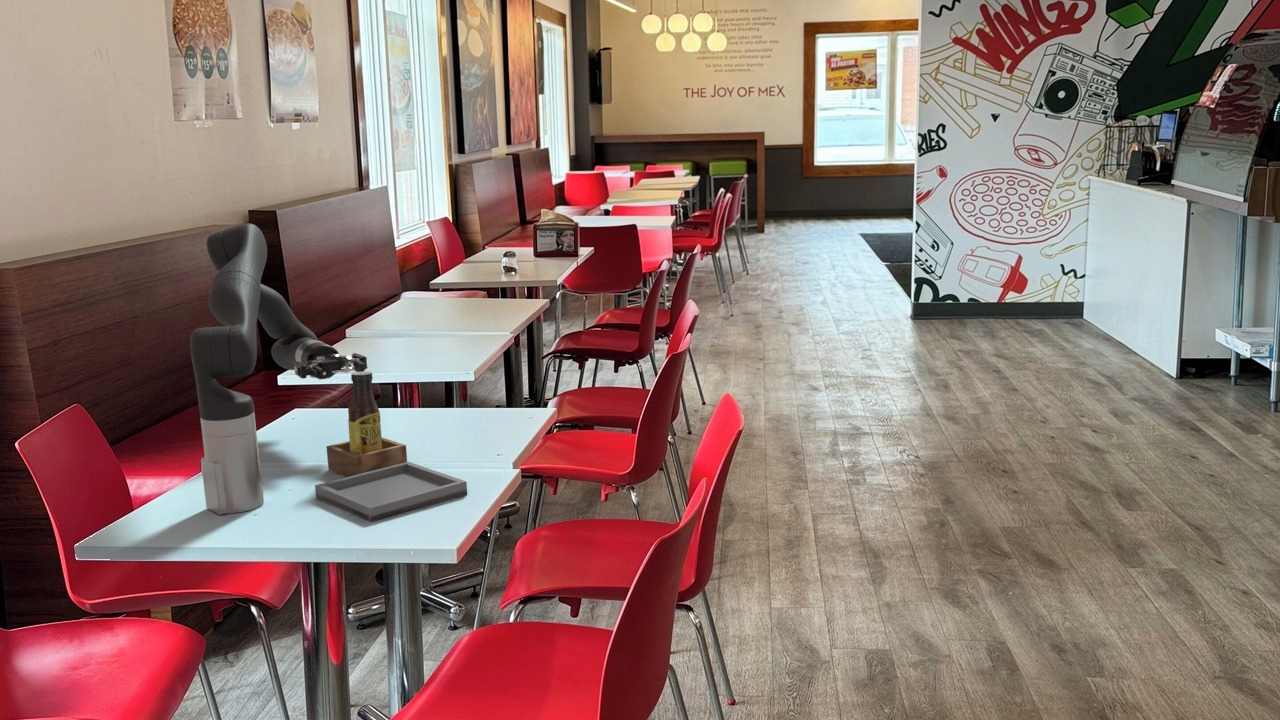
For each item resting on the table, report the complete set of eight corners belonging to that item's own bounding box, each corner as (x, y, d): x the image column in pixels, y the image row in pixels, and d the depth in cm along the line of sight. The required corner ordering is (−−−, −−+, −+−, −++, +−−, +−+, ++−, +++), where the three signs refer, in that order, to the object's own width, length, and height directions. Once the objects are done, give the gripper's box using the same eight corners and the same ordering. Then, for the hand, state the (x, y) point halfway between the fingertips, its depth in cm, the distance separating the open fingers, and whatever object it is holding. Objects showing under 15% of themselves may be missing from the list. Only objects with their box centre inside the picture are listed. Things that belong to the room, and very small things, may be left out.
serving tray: (371, 522, 196) (370, 508, 196) (316, 498, 211) (314, 485, 210) (467, 494, 210) (466, 481, 209) (409, 473, 224) (408, 461, 224)
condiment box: (358, 481, 220) (356, 457, 219) (328, 470, 229) (326, 446, 228) (407, 469, 227) (405, 445, 226) (376, 458, 236) (374, 435, 235)
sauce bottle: (365, 476, 223) (356, 377, 220) (345, 471, 227) (336, 374, 223) (391, 468, 229) (383, 371, 225) (370, 463, 232) (362, 368, 228)
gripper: (282, 346, 242) (306, 358, 229) (347, 337, 250) (373, 348, 237) (286, 380, 244) (309, 394, 231) (350, 370, 252) (376, 383, 238)
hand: (342, 371), depth 234 cm, fingers open, 8 cm apart
